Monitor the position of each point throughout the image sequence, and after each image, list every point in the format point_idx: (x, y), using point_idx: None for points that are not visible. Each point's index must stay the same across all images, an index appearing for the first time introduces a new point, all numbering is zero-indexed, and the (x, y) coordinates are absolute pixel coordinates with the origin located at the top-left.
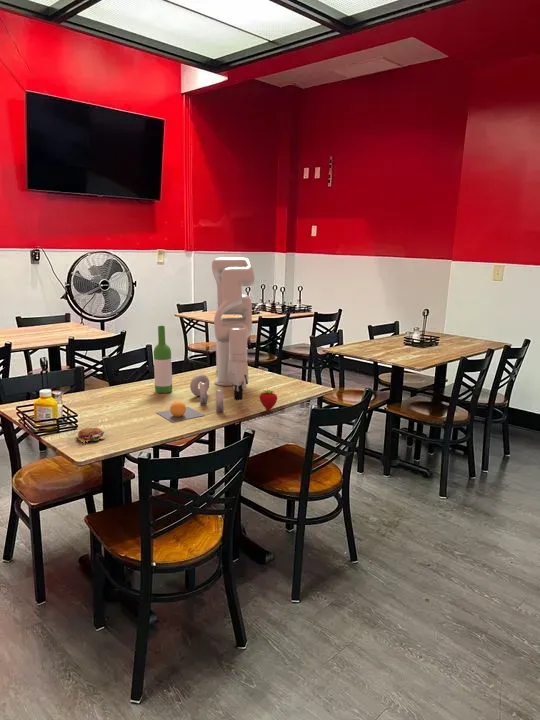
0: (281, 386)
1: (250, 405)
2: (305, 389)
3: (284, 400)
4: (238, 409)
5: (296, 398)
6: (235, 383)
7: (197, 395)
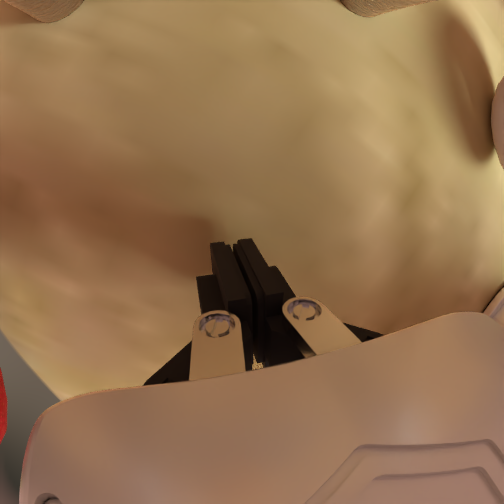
0: None
1: (118, 311)
2: None
3: None
4: (46, 176)
5: None
6: (172, 410)
7: (495, 92)
